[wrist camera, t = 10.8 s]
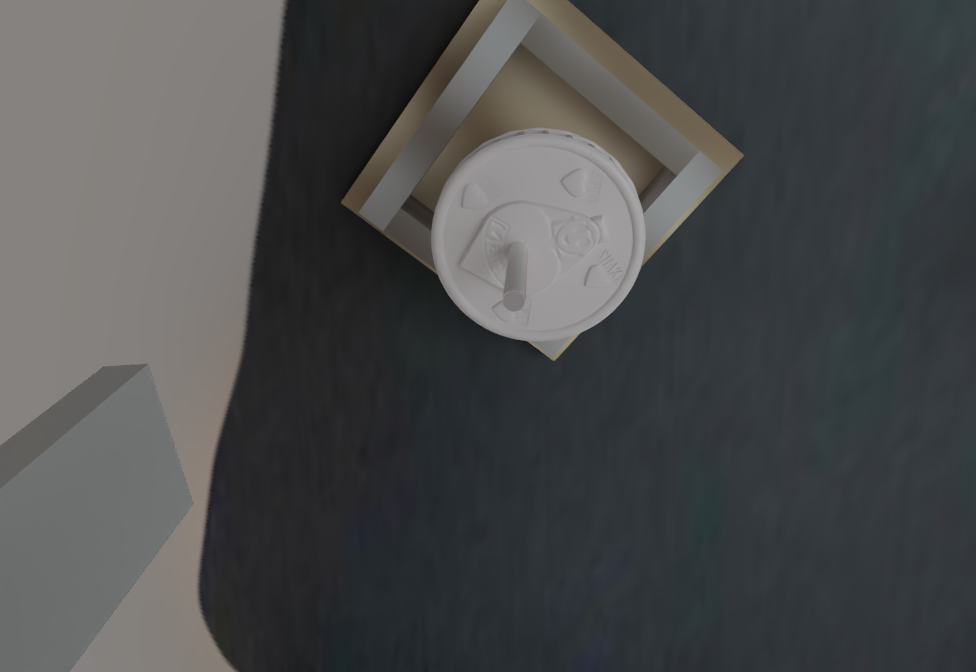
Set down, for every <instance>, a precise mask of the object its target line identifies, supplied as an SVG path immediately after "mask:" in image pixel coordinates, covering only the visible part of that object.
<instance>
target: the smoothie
mask: <svg viewBox="0 0 976 672" xmlns="http://www.w3.org/2000/svg"><path fill="white" fill-rule="evenodd" d="M645 240H646V234H645V222H644V216H643V209H642V206H641V203H640V200H639V197H638V194H637V191H636V189H635V186H634V183H633V182H632V180H631V179H630V177H629V176H628V175H627V173H626V172H625V170H624V169H623V167H622V166H621V165H620V163H619V162H618V160H616V159H615V158H614V157H613V156H612V155H610V154H609V153H608V152H607V151H605V150H604V149H603V148H602V147H600V146H599V145H598V144H597V143H596V142H593V141H591V140H589V139H586V138H584V137H582V136H579V135H577V134H575V133H572V132H570V131H566V130H559V129H551V128H544V127H536V128H528V129H521V130H514V131H509V132H507V133H505V134H502V135H500V136H498V137H495V138H493V139H491V140H488V141H486V142H484V143H483V144H481V145H480V146H479V147H478V148H476V149H475V150H474V151H473V152H471V153H470V154H469V155H468V156H466V157H465V158H464V159H463V160H461V162H460V163H459V164H458V166H457V167H456V169H455V170H454V171H453V173H452V174H451V175H450V177H449V178H448V180H447V181H446V182H445V184H444V187H443V190H442V192H441V195H440V198H439V200H438V203H437V206H436V208H435V213H434V217H433V222H432V230H431V246H432V254H433V260H434V264H435V268H436V271H437V273H438V276H439V279H440V281H441V283H442V285H443V287H444V288H445V290H446V292H447V293H448V295H449V296H450V298H451V299H452V300H453V302H454V303H455V304H456V305H457V306H458V307H459V308H460V310H461V311H462V312H464V313H465V314H466V315H467V316H468V317H469V318H471V319H472V320H473V321H475V322H476V323H477V324H479V325H481V326H482V327H484V328H486V329H488V330H490V331H492V332H494V333H497V334H499V335H502V336H505V337H509V338H512V339H518V340H524V341H551V340H557V339H562V338H566V337H570V336H573V335H575V334H578V333H581V332H583V331H585V330H587V329H589V328H591V327H593V326H594V325H596V324H598V323H599V322H600V321H602V320H603V319H605V318H606V317H607V316H608V315H609V314H611V313H612V312H613V311H614V310H615V309H616V308H617V307H618V306H619V305H620V304H621V302H622V301H623V300H624V298H625V297H626V296H627V294H628V293H629V291H630V290H631V288H632V286H633V284H634V282H635V280H636V278H637V276H638V273H639V271H640V268H641V265H642V261H643V257H644V251H645Z"/></svg>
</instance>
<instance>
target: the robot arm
mask: <svg viewBox="0 0 976 672" xmlns="http://www.w3.org/2000/svg"><path fill="white" fill-rule="evenodd" d="M192 505H193V501H192V498H191V495H190V492H189V489H188V485H187V482H186V479H185V476H184V473H183V470H182V467H181V464H180V461H179V458H178V455H177V452H176V449H175V446H174V443H173V439H172V437H171V433H170V430H169V427H168V424H167V421H166V418H165V415H164V412H163V409H162V406H161V402H160V400H159V396H158V393H157V390H156V387H155V384H154V381H153V378H152V375H151V372H150V369H149V366H148V364H139V365H122V366H107V367H102V368H101V369H100V370H99V371H97V372H96V373H95V374H93V375H92V376H91V377H89V378H88V379H87V380H85V381H84V382H83V383H82V384H80V385H79V386H78V387H76V388H75V389H74V390H72V391H71V392H70V393H68V394H67V395H66V396H65V397H63V398H62V399H61V400H59V401H58V402H57V403H56V404H54V405H53V406H52V407H50V408H49V409H48V410H46V411H45V412H44V413H42V414H41V415H40V416H38V417H37V418H36V419H35V420H33V421H32V422H31V423H29V424H28V425H27V426H25V427H24V428H23V429H21V430H20V431H19V432H18V433H16V434H15V435H14V436H12V437H11V438H10V439H8V440H7V441H6V442H5V443H3V444H2V445H1V446H0V672H70V670H71V669H72V668H73V666H74V665H75V664H76V662H77V661H78V660H79V658H80V657H81V656H82V654H83V653H84V651H85V650H86V649H87V647H88V646H89V645H90V643H91V642H92V641H93V639H94V638H95V636H96V635H97V633H98V632H99V631H100V630H101V628H102V627H103V626H104V624H105V623H106V622H107V620H108V619H109V618H110V616H111V615H112V614H113V612H114V611H115V609H116V608H117V607H118V605H119V604H120V603H121V601H122V599H124V597H125V596H126V595H127V593H128V592H129V590H130V589H131V588H132V586H133V585H134V584H135V582H136V581H137V580H138V578H139V577H140V575H141V574H142V573H143V572H144V570H145V568H146V567H147V566H148V565H149V563H150V562H151V561H152V559H153V558H154V557H155V555H156V554H157V552H158V551H159V550H160V548H161V547H162V546H163V544H164V543H165V542H166V540H167V539H168V538H169V536H170V535H171V534H172V532H173V531H174V529H175V528H176V526H177V525H178V524H179V523H180V521H181V520H182V519H183V517H184V516H185V515H186V513H187V512H188V510H189V509H190V508H191V506H192Z"/></svg>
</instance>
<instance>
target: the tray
mask: <svg viewBox="0 0 976 672" xmlns="http://www.w3.org/2000/svg"><path fill="white" fill-rule="evenodd" d="M536 127H544V128H551V129H559V130H566V131H570V132H572V133H575V134H577V135H579V136H582V137H584V138H586V139H589V140H591V141H593V142H596V143H597V144H598V145H599V146H600V147H602V148H603V149H604V150H605V151H607V152H608V153H609V154H610V155H612V156H613V157H614V158H615V159H616V160H618V162H619V163H620V165H621V166H622V167H623V169H624V170H625V172H626V173H627V175H628V176H629V177H630V179H631V180H632V182H633V183H634V186H635V189H636V191H637V194H638V197H639V200H640V203H641V206H642V209H643V216H644V222H645V234H646V240H645V251H644V257H643V261H642V265H641V267H642V266H643V265H644V263H645V262H646V261H647V260H648V259H649V258H650V257H651V256H652V255H653V254H654V253H655V252H656V250H657V249H658V248H659V247H660V246H661V245H662V244H663V243H664V242H665V241H666V240H667V239H668V237H669V236H670V235H671V234H672V233H673V232H674V231H675V230H676V229H677V228H678V227H679V226H680V224H681V223H682V222H683V221H684V220H685V219H686V218H687V217H688V216H689V215H690V214H691V213H692V211H693V210H694V209H695V208H696V207H697V206H698V205H699V204H700V203H701V202H702V201H703V200H704V198H705V197H706V196H707V195H708V194H709V193H710V192H711V191H712V190H713V189H714V188H715V187H716V185H717V184H718V183H719V182H720V181H721V180H722V179H723V178H724V177H725V176H726V175H727V174H728V172H729V171H730V170H731V169H732V168H733V167H734V166H735V165H736V164H737V163H738V162H739V161H740V159H741V158H742V157H743V156H744V155H743V154H742V153H741V152H740V151H738V150H737V149H736V148H735V147H734V146H733V145H732V144H731V143H729V142H728V141H727V140H726V139H725V138H724V137H723V136H721V135H720V134H719V133H718V132H717V131H716V130H715V129H713V128H712V127H711V126H710V125H709V124H708V123H707V122H706V121H704V120H703V119H702V118H701V117H700V116H699V115H698V114H696V113H695V112H694V111H693V110H692V109H691V108H690V107H688V106H687V105H686V104H685V103H684V102H683V101H682V100H680V99H679V98H678V97H677V96H676V95H675V94H674V93H673V92H671V91H670V90H669V89H668V88H667V87H666V86H665V85H663V84H662V83H661V82H660V81H659V80H658V79H657V78H655V77H654V76H653V75H652V74H651V73H650V72H649V71H648V70H646V69H645V68H644V67H643V66H642V65H641V64H640V63H638V62H637V61H636V60H635V59H634V58H633V57H632V56H630V55H629V54H628V53H627V52H626V51H625V50H624V49H622V48H621V47H620V46H619V45H618V44H617V43H616V42H615V41H613V40H612V39H611V38H610V37H609V36H608V35H607V34H605V33H604V32H603V31H602V30H601V29H600V28H599V27H597V26H596V25H595V24H594V23H593V22H592V21H591V20H590V19H588V18H587V17H586V16H585V15H584V14H583V13H582V12H580V11H579V10H578V9H577V8H576V7H575V6H574V5H572V4H571V3H570V2H569V1H568V0H479V2H478V3H477V4H476V6H475V7H474V9H473V10H472V12H471V13H470V15H469V16H468V18H467V19H466V21H465V22H464V23H463V25H462V26H461V28H460V29H459V31H458V32H457V34H456V35H455V37H454V38H453V40H452V41H451V42H450V44H449V45H448V47H447V48H446V50H445V51H444V53H443V54H442V56H441V57H440V58H439V60H438V61H437V63H436V64H435V66H434V67H433V69H432V70H431V72H430V73H429V75H428V76H427V77H426V79H425V80H424V82H423V83H422V85H421V86H420V88H419V89H418V91H417V92H416V94H415V95H414V96H413V98H412V99H411V101H410V102H409V104H408V105H407V107H406V108H405V110H404V111H403V113H402V114H401V115H400V117H399V118H398V120H397V121H396V123H395V124H394V126H393V127H392V129H391V130H390V131H389V133H388V134H387V136H386V137H385V139H384V140H383V142H382V143H381V145H380V146H379V148H378V149H377V150H376V152H375V153H374V155H373V156H372V158H371V159H370V161H369V162H368V164H367V165H366V167H365V168H364V169H363V171H362V172H361V174H360V175H359V177H358V178H357V180H356V181H355V183H354V184H353V185H352V187H351V188H350V190H349V191H348V193H347V194H346V196H345V197H344V199H343V200H342V202H341V203H342V204H343V205H345V206H346V207H347V208H349V209H350V210H351V211H353V212H354V213H355V214H357V215H358V216H359V217H361V218H362V219H363V220H365V221H366V222H367V223H369V224H370V225H371V226H373V227H374V228H376V229H377V230H378V231H380V232H381V233H382V234H384V235H385V236H386V237H388V238H389V239H390V240H392V241H393V242H394V243H396V244H397V245H398V246H400V247H401V248H402V249H404V250H405V251H406V252H408V253H409V254H411V255H412V256H413V257H415V258H416V259H417V260H419V261H420V262H421V263H423V264H424V265H425V266H427V267H428V268H429V269H431V270H432V271H433V272H435V273H436V274H437V275H438V273H437V271H436V268H435V264H434V260H433V254H432V246H431V230H432V222H433V217H434V213H435V208H436V206H437V203H438V200H439V198H440V195H441V192H442V190H443V187H444V184H445V182H446V181H447V180H448V178H449V177H450V175H451V174H452V173H453V171H454V170H455V169H456V167H457V166H458V164H459V163H460V162H461V160H463V159H464V158H465V157H466V156H468V155H469V154H470V153H471V152H473V151H474V150H475V149H476V148H478V147H479V146H480V145H481V144H483V143H484V142H486V141H488V140H491V139H493V138H495V137H498V136H500V135H502V134H505V133H507V132H509V131H514V130H521V129H528V128H536ZM579 334H580V333H578V334H575V335H573V336H570V337H566V338H562V339H557V340H551V341H528V342H529V343H530V344H532V345H533V346H534V347H536V348H537V349H538V350H540V351H541V352H542V353H544V354H545V355H546V356H548V357H549V358H550V359H552V360H553V361H555V360H556V359H557V358H558V357H559V356H560V354H561V353H562V352H563V351H564V350H565V349H566V348H567V347H568V346H569V345H570V344H571V343H572V341H573V340H574V339H575V338H576V337H577V336H578V335H579Z"/></svg>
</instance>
